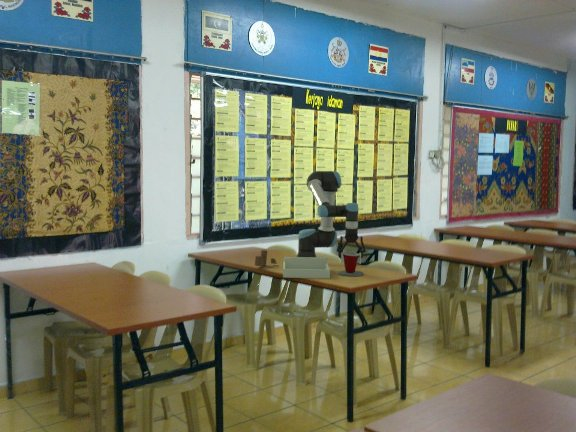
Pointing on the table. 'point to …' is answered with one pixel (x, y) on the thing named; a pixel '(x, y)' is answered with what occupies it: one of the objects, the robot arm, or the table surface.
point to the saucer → (344, 273)
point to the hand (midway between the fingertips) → (350, 263)
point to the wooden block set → (263, 259)
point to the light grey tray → (305, 267)
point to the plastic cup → (350, 261)
